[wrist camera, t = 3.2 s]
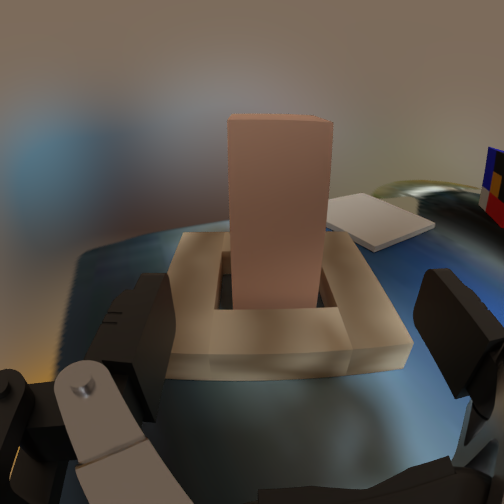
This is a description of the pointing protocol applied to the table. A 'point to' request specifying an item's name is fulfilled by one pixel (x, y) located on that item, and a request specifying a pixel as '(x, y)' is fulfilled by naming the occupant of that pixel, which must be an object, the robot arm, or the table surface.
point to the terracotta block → (277, 208)
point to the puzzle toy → (493, 186)
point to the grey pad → (373, 221)
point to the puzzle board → (281, 320)
